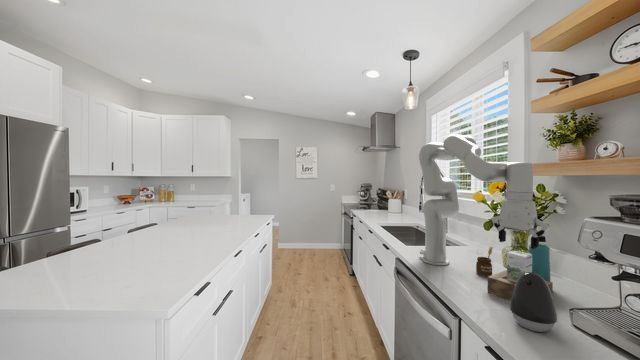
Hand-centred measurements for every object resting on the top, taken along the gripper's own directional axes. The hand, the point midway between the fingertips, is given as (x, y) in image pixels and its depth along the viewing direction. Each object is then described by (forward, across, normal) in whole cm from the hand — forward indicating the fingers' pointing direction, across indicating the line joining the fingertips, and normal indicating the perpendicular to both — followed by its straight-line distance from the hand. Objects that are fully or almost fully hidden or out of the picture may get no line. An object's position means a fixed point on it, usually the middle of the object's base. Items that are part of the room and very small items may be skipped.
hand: (517, 244), depth 92 cm
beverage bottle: (+18, +1, +16) cm, 24 cm away
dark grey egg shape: (+18, +12, -19) cm, 29 cm away
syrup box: (+17, +1, 0) cm, 17 cm away
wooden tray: (+18, +1, 0) cm, 18 cm away
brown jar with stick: (+19, -17, +12) cm, 28 cm away
